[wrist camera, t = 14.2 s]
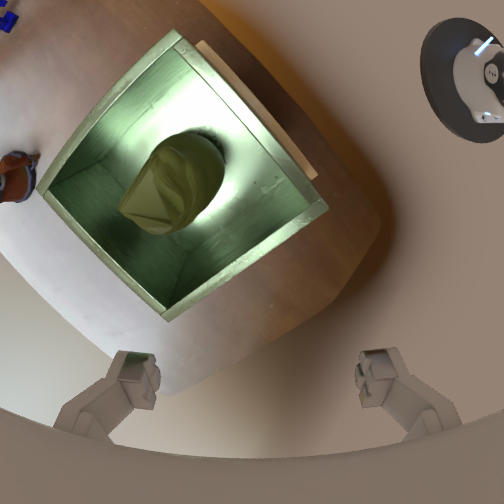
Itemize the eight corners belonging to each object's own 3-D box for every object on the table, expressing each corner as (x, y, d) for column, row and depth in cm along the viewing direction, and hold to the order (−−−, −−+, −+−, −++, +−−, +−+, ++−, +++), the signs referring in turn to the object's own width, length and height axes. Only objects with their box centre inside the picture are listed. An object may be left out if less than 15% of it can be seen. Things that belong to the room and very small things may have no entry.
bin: (285, 136, 48) (347, 211, 16) (220, 187, 53) (169, 333, 20) (230, 72, 44) (176, 10, 11) (166, 127, 48) (24, 188, 15)
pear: (197, 211, 24) (165, 280, 15) (144, 171, 23) (83, 219, 14) (242, 158, 22) (233, 198, 13) (186, 114, 21) (138, 125, 12)
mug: (41, 121, 46) (-10, 134, 32) (64, 169, 50) (17, 193, 37) (-4, 168, 49) (-49, 189, 36) (17, 209, 54) (-25, 238, 41)
